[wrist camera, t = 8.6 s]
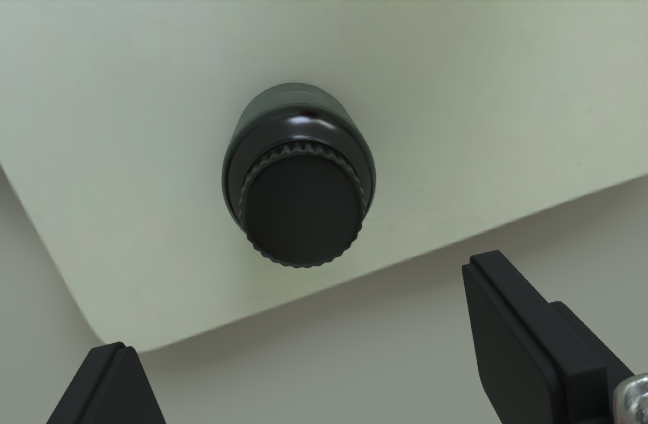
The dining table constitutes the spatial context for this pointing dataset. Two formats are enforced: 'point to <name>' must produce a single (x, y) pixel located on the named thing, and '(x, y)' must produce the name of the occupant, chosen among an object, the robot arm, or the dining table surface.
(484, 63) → the dining table surface
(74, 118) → the dining table surface
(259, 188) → the supplement bottle
